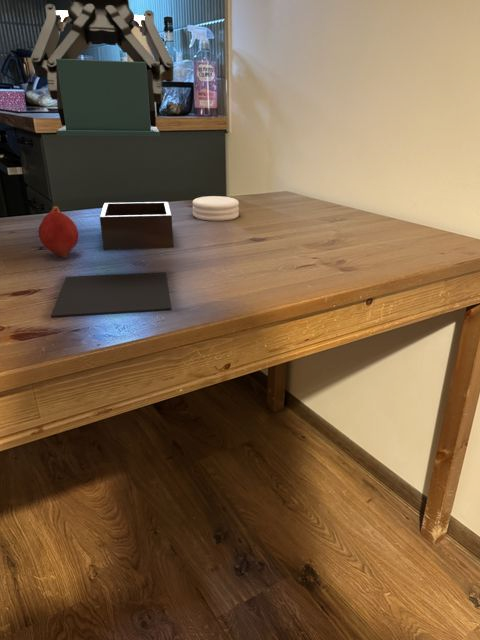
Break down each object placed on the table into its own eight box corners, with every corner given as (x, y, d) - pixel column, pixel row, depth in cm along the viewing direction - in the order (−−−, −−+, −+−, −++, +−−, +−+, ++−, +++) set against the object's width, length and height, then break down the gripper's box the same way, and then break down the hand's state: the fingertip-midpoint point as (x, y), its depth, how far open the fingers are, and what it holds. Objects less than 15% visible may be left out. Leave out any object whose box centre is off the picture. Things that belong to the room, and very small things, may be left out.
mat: (66, 279, 71) (65, 276, 70) (166, 274, 74) (165, 271, 73) (51, 318, 59) (50, 315, 58) (171, 311, 61) (171, 308, 61)
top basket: (68, 128, 69) (58, 62, 65) (155, 129, 72) (151, 65, 68) (56, 135, 59) (45, 57, 55) (159, 136, 61) (155, 62, 58)
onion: (35, 259, 78) (25, 207, 75) (60, 250, 83) (51, 201, 80) (65, 264, 77) (56, 211, 73) (89, 254, 82) (81, 204, 78)
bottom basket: (107, 233, 94) (103, 202, 91) (169, 231, 96) (168, 201, 93) (103, 250, 84) (99, 217, 81) (173, 248, 86) (171, 215, 83)
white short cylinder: (246, 219, 107) (247, 202, 105) (203, 223, 102) (203, 206, 101) (226, 210, 114) (226, 194, 113) (186, 213, 110) (185, 197, 108)
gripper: (1, -51, 62) (0, 91, 56) (183, -36, 67) (201, 96, 61) (18, 6, 69) (19, 138, 63) (181, 16, 74) (197, 140, 68)
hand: (108, 118), depth 62 cm, fingers closed on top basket, 10 cm apart
